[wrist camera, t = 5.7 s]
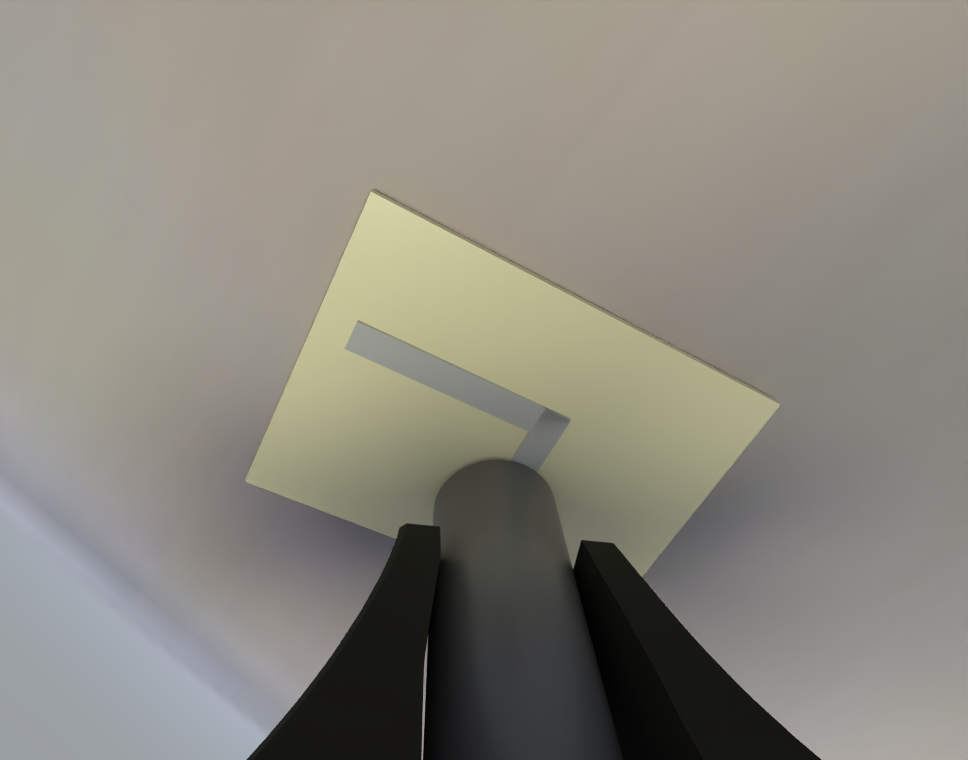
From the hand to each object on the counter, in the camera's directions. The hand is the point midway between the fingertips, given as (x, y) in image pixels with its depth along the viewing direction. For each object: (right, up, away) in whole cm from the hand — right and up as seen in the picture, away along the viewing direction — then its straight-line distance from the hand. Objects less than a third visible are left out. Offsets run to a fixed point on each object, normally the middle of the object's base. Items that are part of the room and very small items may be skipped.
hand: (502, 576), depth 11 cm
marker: (0, +1, +2) cm, 2 cm away
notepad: (0, +2, +2) cm, 3 cm away
